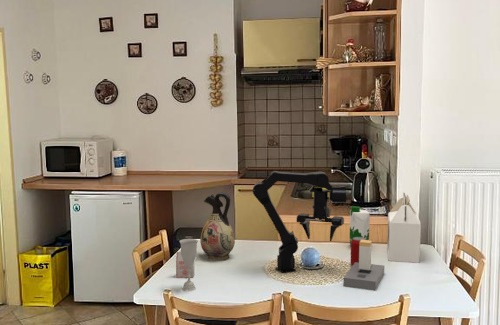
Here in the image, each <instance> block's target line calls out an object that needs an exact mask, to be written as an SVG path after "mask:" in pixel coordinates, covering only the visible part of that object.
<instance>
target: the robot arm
mask: <svg viewBox="0 0 500 325" xmlns="http://www.w3.org/2000/svg"><path fill="white" fill-rule="evenodd" d="M278 182H282V183H283V182H284V183H297V184H298V183H299V184H301V183H302V184H308V185H311V187H310V188H309V189H308V190H309V192H310V193H313V205H312V209H313V210H312V212H313V213H312V214H313V215H312V216H311V215H310V213H302V212H301V213H299V214H298V215H297V216H296V223H299V225H301V226H302V228H303V230H304V232H305V234H306V237H307V240H310V239H311V232H310V231H311V230H310V226H311V224H310V223H311V222H321V223H331V225H330V229H329V233H330V234H329V242H332V240H333V238H334V236H335V233H336V230H337V229H338V228H339V227H342V226H343V225H344V224H345V218H344V216H340V215H339V216H337V215H334V216H333V217H330V216H331V210H332V209H330V208H329V204H328V200H329V201H331V204H332V203H333V204H346V203H347V200H348V199H347V198H348V196H347V191H346V188H347V187H346V186H345V185H342V186H341V185H340V186H333V185H332V183H330V182H329V176H328V174H326V172H324V171H314V172H313V171H312V172H307V173H305V172H304V173H303V172H302V173H301V172H288V171H279V170H278V171H277V170H273V171H272V172H271V173H270V174H269V175H268V176H266V177H265V178H264V179H263V180H262V181H257V182H256V183H255V184H253V188H252V193H253V196H254V197H255V198H256V200H258V202H259V203H260V204H261V205H262V206H263V207H264V208H263V209H265V211H266V213H267V215H268V217H269V218H270V221H271V222H272V224H273V226H274V227H275V230H276V231H277V233H278V235H279V237H280V241H281V245H280V246H279V247H278V255H277V260H276V263H277V267H275V268H274V270H277V271H278V272H281V273H283V274H286V273H290V272H295V271H296V270H297V269H296V268H295V266H296V259H295V254H296V253H297V251H298V250H299V246H298V243H299V240H298V237H297V236H296V234H295V233H294V230H292V231H291V232H290V231H289V230H288V228H287V226H286V225H285V223H284V221H283V220H282V218H281V216H280V214H279V212H278V210H277V209H276V207H275V205H274V203H273V201H272V199H271V195H270V193H269V190H270V189H271V188H272V187H273V186H274V185H275V184H276V183H278ZM323 188H325V189H323ZM296 272H297V271H296Z"/></svg>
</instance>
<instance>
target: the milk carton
mask: <svg viewBox="0 0 500 325" xmlns="http://www.w3.org/2000/svg"><path fill="white" fill-rule="evenodd" d="M370 218H371V217H370V212H369V211H368V210H367V209H361V206H356V205H354V206H351V207H350V210H349V246H350V247H351V241H352V239H353V238H354V237H363V238H365V239H366V240H370V223H371V222H370V220H371V219H370Z"/></svg>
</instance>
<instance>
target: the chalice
mask: <svg viewBox="0 0 500 325" xmlns="http://www.w3.org/2000/svg"><path fill="white" fill-rule="evenodd" d="M198 242H199V240H198V239H195V238H184V239H181V240H179V243H180V252H181V256H182V259H183V261H184V263H185V265H186V266H188V269H187V272H188V275H187V277H188V278H187V280H186V281H185V282H184V283H183V285H182V286H183V287H182V291H186V292H189V291H190V292H192V291H194V290H196V288H197V287H196V285H195V283H194V282H193V281H191V278H190V277H191V275H190V272H191V270H190V266H191V265H193V262H194V263H195V260H196V257H197V252H198V251H197V247H198V245H197V244H198Z"/></svg>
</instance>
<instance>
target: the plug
mask: <svg viewBox="0 0 500 325" xmlns="http://www.w3.org/2000/svg"><path fill="white" fill-rule="evenodd" d="M372 241H373V240H370V239H369V240H361V241H360V244H359V269H367V270H369V269H370V268H371V264H372V248H373V247H372V246H373V245H372V243H373V242H372Z"/></svg>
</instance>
